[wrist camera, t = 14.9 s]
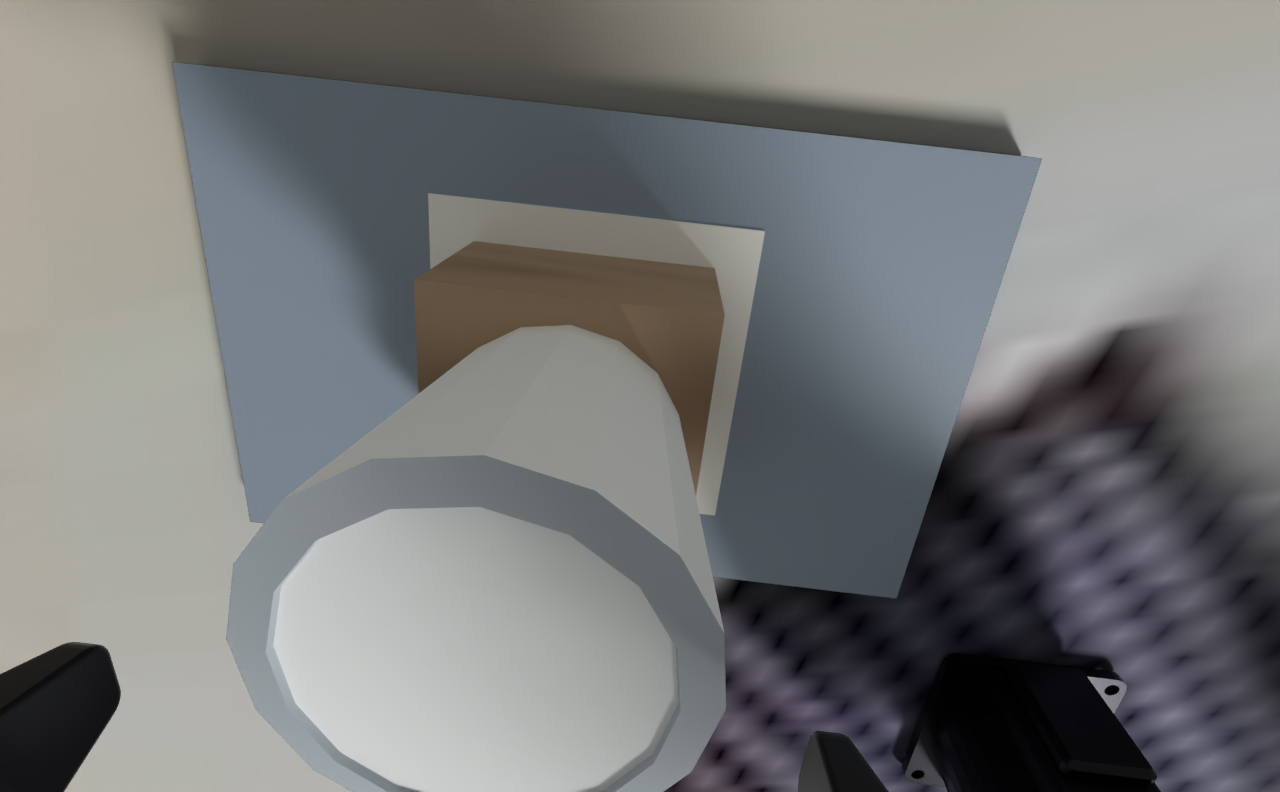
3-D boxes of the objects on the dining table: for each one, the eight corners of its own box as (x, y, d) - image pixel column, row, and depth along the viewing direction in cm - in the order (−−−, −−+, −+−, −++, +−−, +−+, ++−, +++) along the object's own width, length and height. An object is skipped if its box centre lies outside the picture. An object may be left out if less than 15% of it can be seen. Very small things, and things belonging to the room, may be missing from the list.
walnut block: (684, 476, 20) (684, 566, 16) (474, 452, 21) (424, 536, 17) (714, 268, 18) (724, 315, 14) (473, 241, 18) (413, 279, 14)
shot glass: (735, 319, 14) (782, 503, 7) (684, 578, 17) (686, 873, 10) (411, 273, 14) (180, 418, 7) (415, 539, 17) (249, 811, 10)
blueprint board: (887, 578, 23) (897, 600, 22) (267, 505, 23) (248, 523, 22) (1023, 156, 17) (1043, 159, 16) (198, 64, 17) (169, 61, 16)
